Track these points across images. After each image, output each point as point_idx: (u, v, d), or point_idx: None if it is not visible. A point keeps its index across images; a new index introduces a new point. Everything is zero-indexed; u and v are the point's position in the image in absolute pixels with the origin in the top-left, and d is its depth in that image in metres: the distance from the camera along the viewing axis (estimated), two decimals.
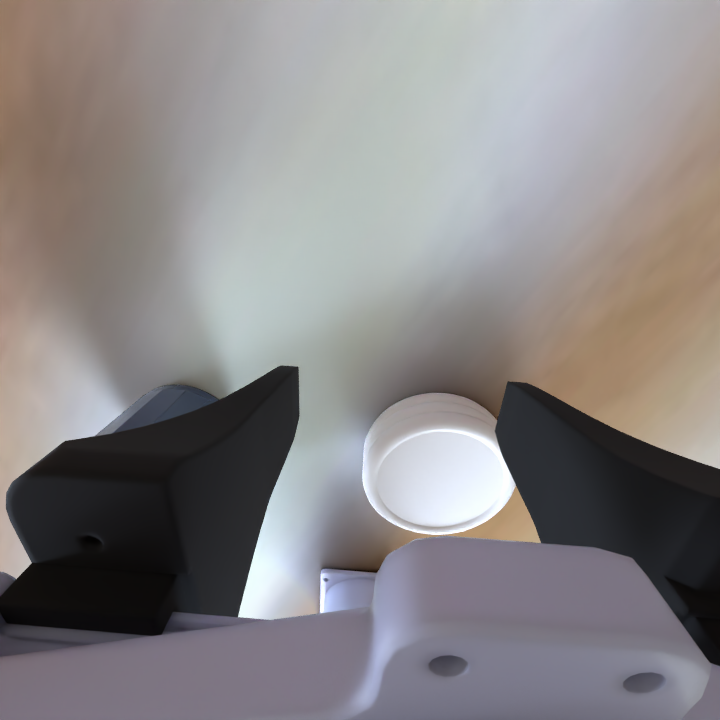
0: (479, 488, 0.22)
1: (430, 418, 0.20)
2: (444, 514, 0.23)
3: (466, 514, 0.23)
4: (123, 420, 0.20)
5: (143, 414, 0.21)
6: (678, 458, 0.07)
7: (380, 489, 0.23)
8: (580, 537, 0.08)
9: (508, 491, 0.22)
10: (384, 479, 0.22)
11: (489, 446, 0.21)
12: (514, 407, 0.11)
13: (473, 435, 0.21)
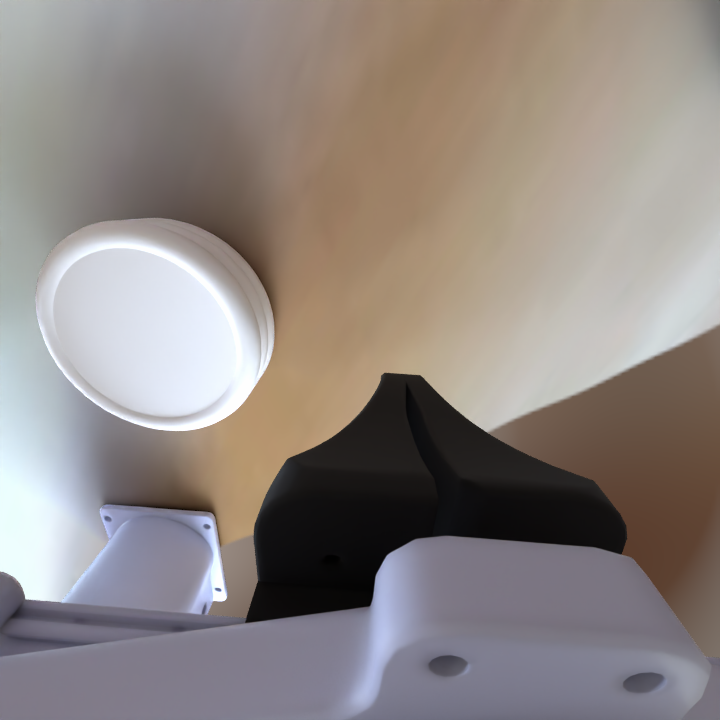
0: (205, 349, 0.15)
1: (94, 226, 0.14)
2: (173, 395, 0.16)
3: (203, 395, 0.16)
4: None
5: None
6: (499, 445, 0.07)
7: (69, 355, 0.16)
8: None
9: (244, 353, 0.15)
10: (69, 337, 0.15)
11: (192, 274, 0.14)
12: None
13: (161, 253, 0.14)
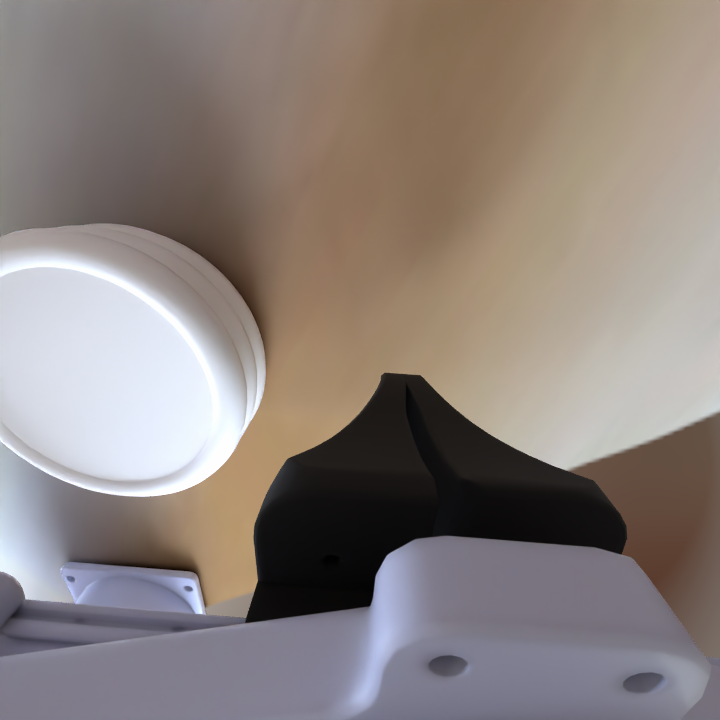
0: (170, 400, 0.12)
1: (8, 236, 0.10)
2: (132, 455, 0.13)
3: (171, 456, 0.13)
4: None
5: None
6: (498, 445, 0.07)
7: None
8: None
9: (223, 405, 0.11)
10: None
11: (148, 302, 0.10)
12: None
13: (104, 274, 0.10)
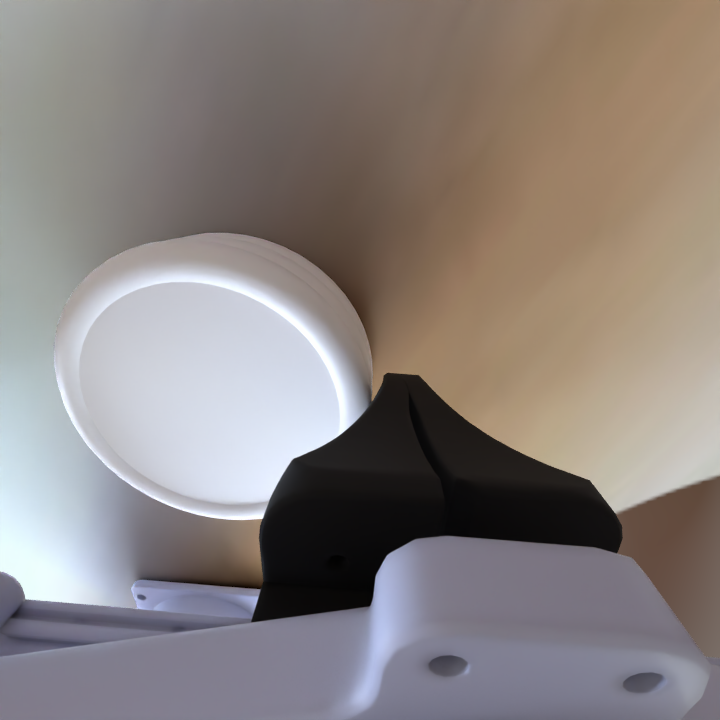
0: (294, 421, 0.11)
1: (144, 249, 0.09)
2: (242, 478, 0.12)
3: None
4: None
5: None
6: (495, 445, 0.07)
7: (101, 427, 0.11)
8: None
9: None
10: (100, 404, 0.11)
11: (288, 319, 0.09)
12: None
13: (245, 289, 0.09)
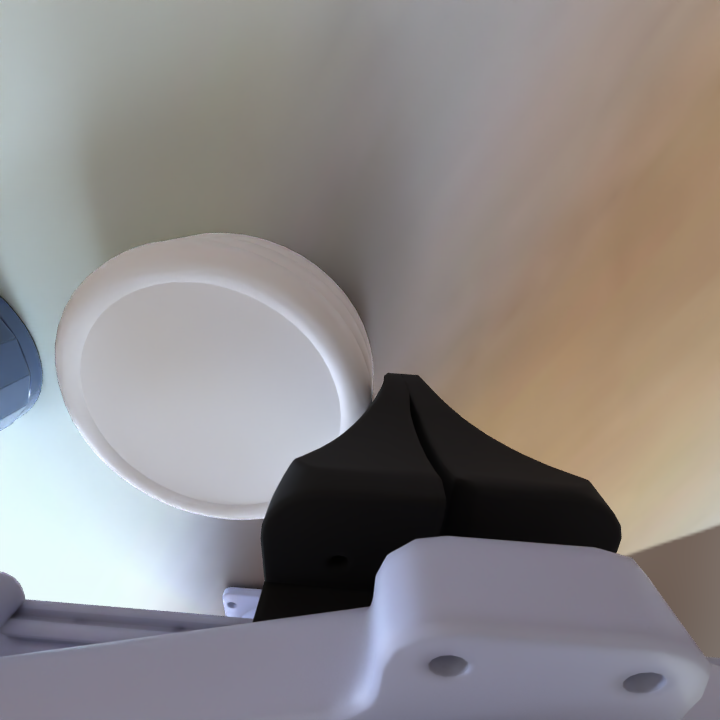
0: (295, 421, 0.11)
1: (145, 249, 0.09)
2: (243, 478, 0.12)
3: None
4: None
5: None
6: (494, 444, 0.07)
7: (102, 427, 0.11)
8: None
9: None
10: (101, 404, 0.11)
11: (289, 319, 0.09)
12: None
13: (246, 289, 0.09)
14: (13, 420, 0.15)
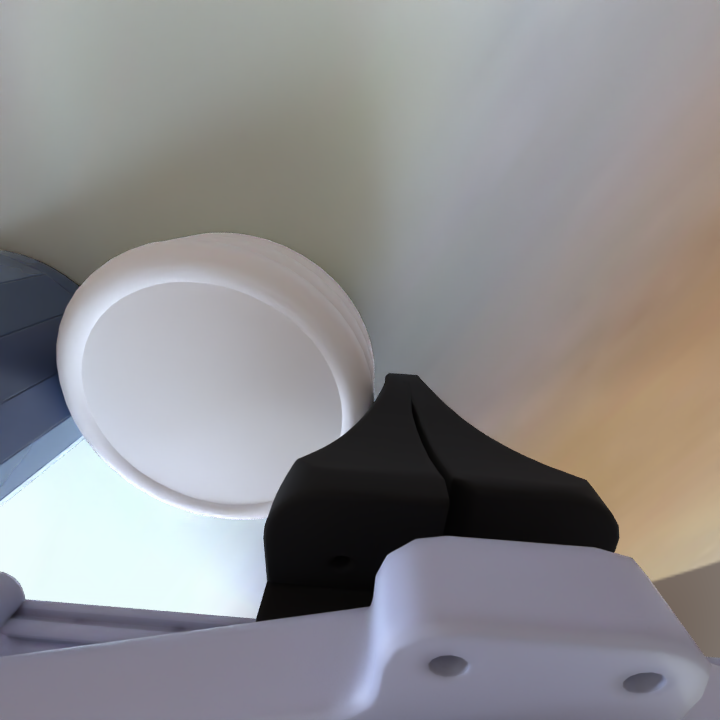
0: (296, 420, 0.11)
1: (146, 249, 0.09)
2: (244, 478, 0.12)
3: None
4: None
5: None
6: (493, 444, 0.07)
7: (103, 426, 0.11)
8: None
9: None
10: (103, 404, 0.11)
11: (290, 319, 0.09)
12: None
13: (247, 288, 0.09)
14: None
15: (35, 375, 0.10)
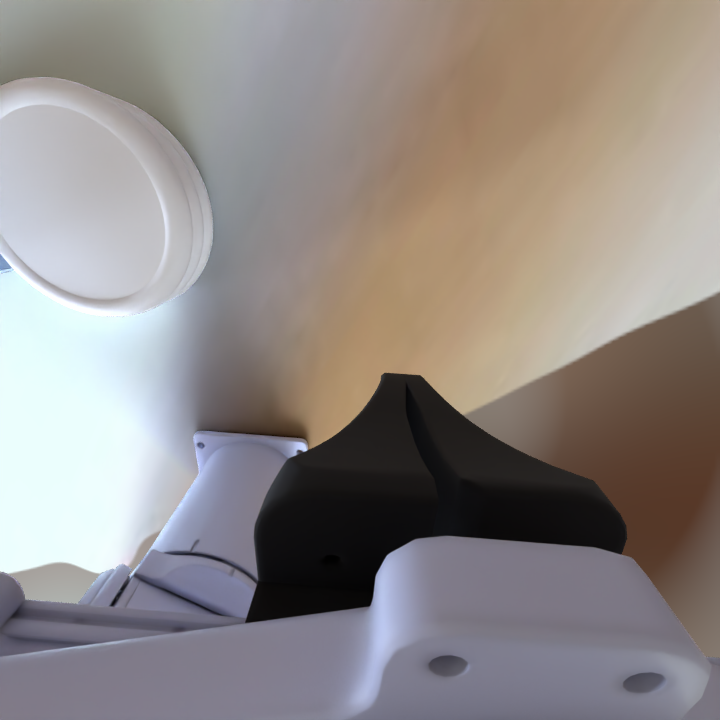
0: (133, 220, 0.16)
1: (14, 81, 0.14)
2: (106, 274, 0.17)
3: (136, 274, 0.17)
4: None
5: None
6: (499, 445, 0.07)
7: (2, 229, 0.16)
8: None
9: (171, 222, 0.15)
10: None
11: (113, 133, 0.14)
12: None
13: (82, 109, 0.14)
14: None
15: None
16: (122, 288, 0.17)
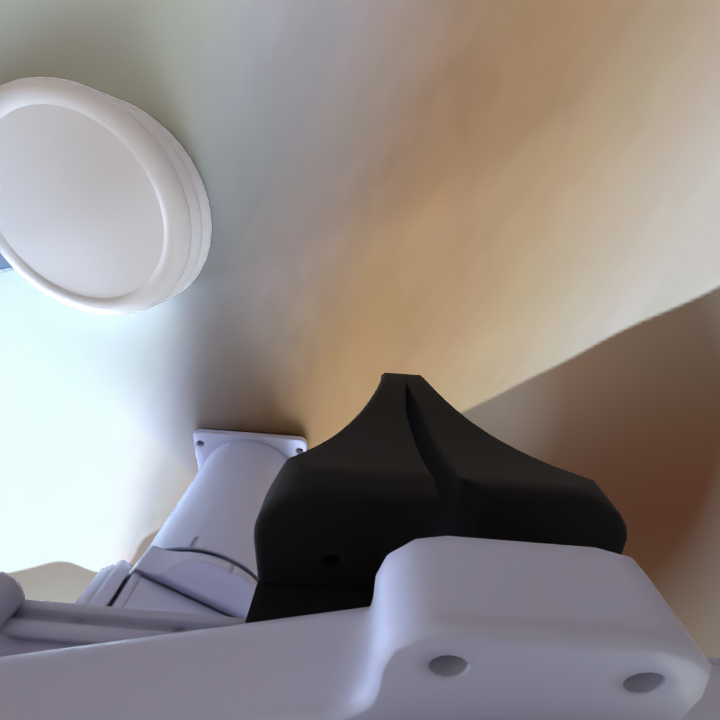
0: (132, 219, 0.16)
1: (13, 81, 0.14)
2: (106, 272, 0.17)
3: (135, 272, 0.17)
4: None
5: None
6: (498, 445, 0.07)
7: (2, 228, 0.16)
8: None
9: (170, 221, 0.16)
10: None
11: (112, 132, 0.14)
12: None
13: (81, 108, 0.14)
14: None
15: None
16: (121, 286, 0.17)
